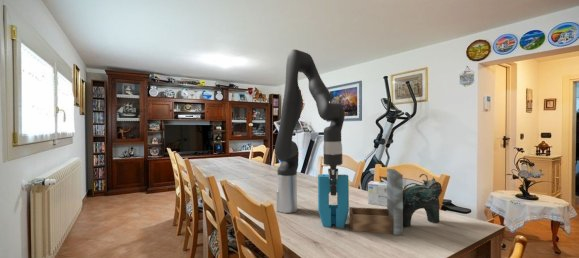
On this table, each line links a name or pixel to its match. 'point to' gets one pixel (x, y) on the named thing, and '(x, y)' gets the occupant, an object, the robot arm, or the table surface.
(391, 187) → the wooden stand
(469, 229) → the table surface
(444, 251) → the table surface
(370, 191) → the light bulb box
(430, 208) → the dark green elephant figurine
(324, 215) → the block
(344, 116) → the robot arm
